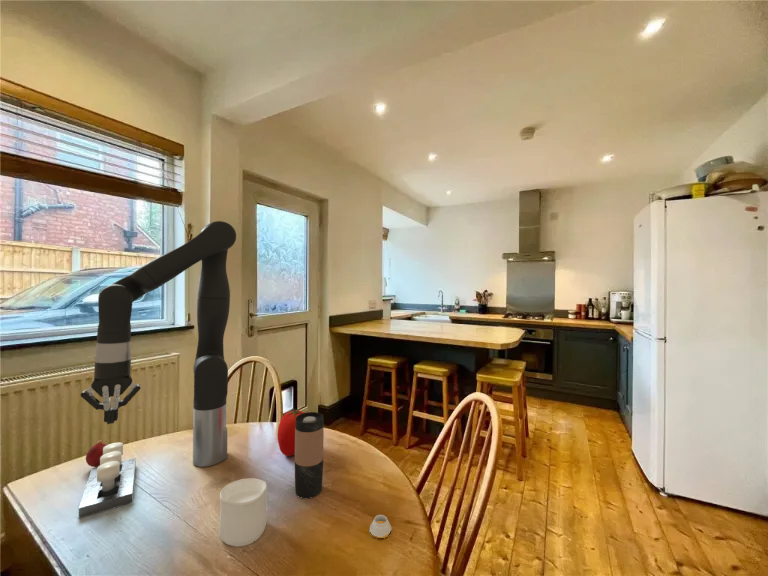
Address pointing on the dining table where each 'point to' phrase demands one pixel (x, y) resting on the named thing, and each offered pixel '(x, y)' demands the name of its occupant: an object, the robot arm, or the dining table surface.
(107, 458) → the knob mid
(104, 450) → the knob far
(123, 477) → the mount panel
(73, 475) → the dining table surface
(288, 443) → the tomato
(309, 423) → the travel mug
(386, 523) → the lidless jar
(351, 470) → the dining table surface
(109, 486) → the knob near
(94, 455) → the onion
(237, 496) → the cup
